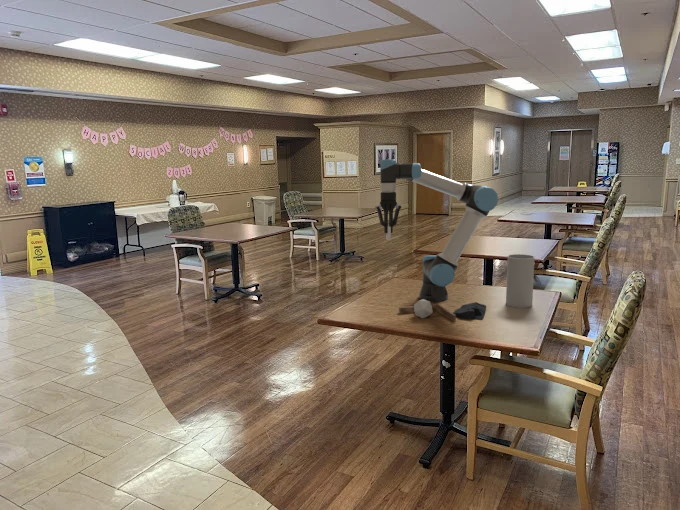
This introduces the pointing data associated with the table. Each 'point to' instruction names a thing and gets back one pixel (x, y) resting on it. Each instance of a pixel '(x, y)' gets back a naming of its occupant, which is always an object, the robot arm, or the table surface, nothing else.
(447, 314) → the rest corner
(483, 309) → the dark slate chunk
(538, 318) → the table surface
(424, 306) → the die
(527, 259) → the cylinder vase
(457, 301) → the table surface
